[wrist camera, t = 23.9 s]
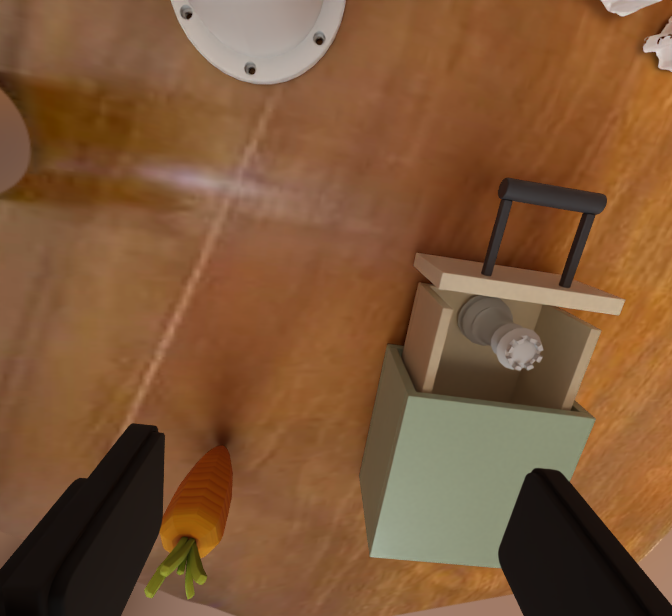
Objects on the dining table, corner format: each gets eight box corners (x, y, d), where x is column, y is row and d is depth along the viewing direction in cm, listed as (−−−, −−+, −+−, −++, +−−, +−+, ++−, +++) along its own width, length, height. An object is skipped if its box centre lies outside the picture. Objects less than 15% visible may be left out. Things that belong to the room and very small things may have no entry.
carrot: (252, 434, 40) (214, 574, 26) (239, 472, 41) (195, 625, 27) (204, 420, 39) (138, 557, 25) (192, 459, 41) (123, 610, 26)
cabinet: (387, 343, 37) (408, 395, 28) (531, 362, 39) (596, 418, 29) (359, 475, 42) (369, 557, 33) (488, 489, 43) (533, 571, 34)
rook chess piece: (485, 348, 36) (530, 393, 28) (446, 325, 35) (480, 365, 27) (516, 308, 35) (570, 343, 27) (476, 283, 34) (521, 313, 26)
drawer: (433, 171, 32) (467, 168, 24) (587, 198, 33) (664, 202, 25) (383, 398, 38) (399, 450, 31) (513, 413, 39) (558, 467, 32)
